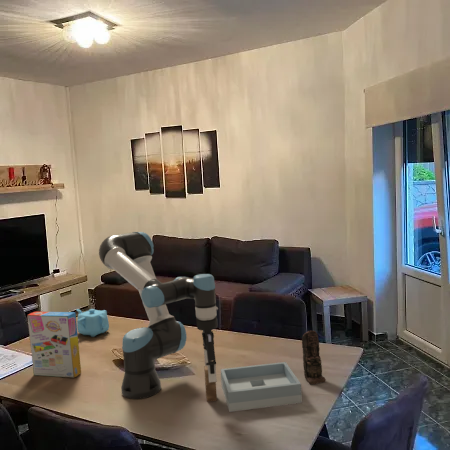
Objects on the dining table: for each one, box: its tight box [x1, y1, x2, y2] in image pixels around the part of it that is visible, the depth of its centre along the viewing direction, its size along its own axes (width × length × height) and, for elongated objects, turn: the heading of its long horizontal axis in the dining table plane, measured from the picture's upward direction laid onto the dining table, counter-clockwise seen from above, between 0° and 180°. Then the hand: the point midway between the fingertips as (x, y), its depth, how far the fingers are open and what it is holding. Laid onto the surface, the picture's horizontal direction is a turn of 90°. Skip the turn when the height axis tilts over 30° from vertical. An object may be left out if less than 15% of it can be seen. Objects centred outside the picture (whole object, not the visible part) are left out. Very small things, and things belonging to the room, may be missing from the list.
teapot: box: [75, 308, 110, 338], centre depth 250 cm, size 18×16×14 cm
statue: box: [301, 330, 326, 385], centre depth 178 cm, size 7×7×20 cm
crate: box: [220, 361, 303, 413], centre depth 169 cm, size 26×20×7 cm
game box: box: [26, 311, 82, 379], centre depth 197 cm, size 21×6×27 cm, turn 74°
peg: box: [203, 365, 218, 402], centre depth 168 cm, size 4×4×12 cm
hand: (210, 374), depth 167 cm, fingers open, 13 cm apart
